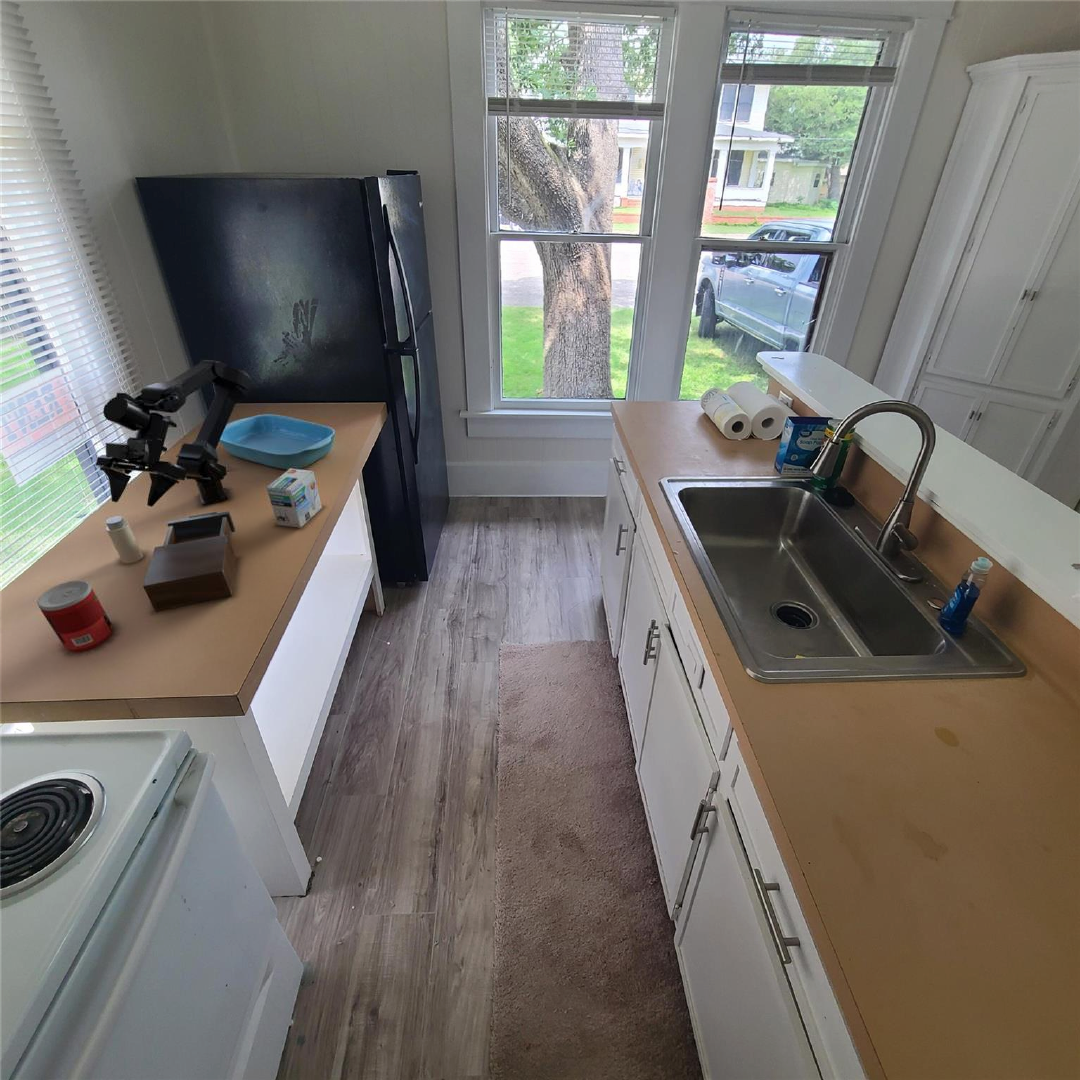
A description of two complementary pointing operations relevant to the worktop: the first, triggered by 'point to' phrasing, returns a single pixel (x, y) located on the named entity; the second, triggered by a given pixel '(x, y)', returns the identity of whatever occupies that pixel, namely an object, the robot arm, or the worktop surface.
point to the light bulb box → (294, 497)
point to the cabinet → (190, 573)
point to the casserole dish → (277, 441)
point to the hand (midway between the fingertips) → (131, 503)
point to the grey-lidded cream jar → (123, 539)
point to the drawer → (200, 527)
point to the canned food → (76, 615)
